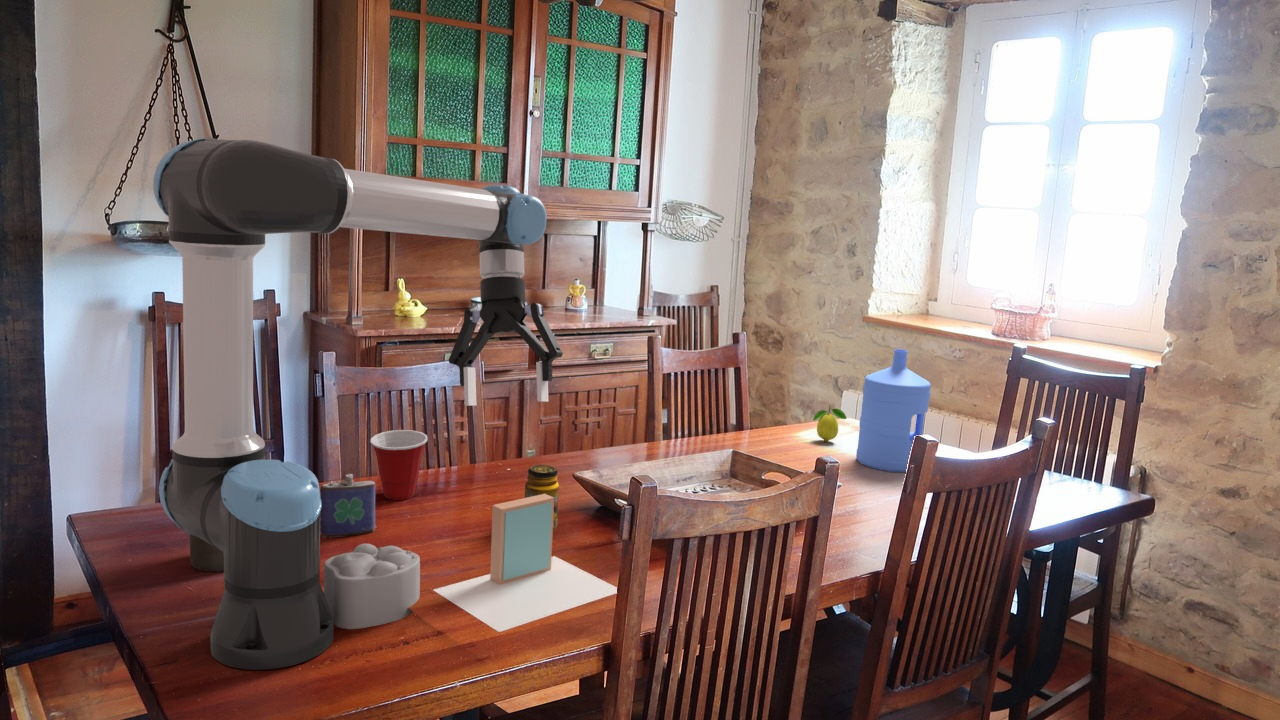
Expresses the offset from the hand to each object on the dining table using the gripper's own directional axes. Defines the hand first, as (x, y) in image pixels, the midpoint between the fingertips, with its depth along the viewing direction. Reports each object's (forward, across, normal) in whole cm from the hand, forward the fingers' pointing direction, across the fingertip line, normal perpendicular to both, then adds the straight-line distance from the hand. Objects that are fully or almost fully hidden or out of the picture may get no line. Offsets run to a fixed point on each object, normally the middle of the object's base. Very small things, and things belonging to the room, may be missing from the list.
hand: (506, 403), depth 159 cm
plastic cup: (+16, +34, -18) cm, 41 cm away
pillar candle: (+23, +40, +22) cm, 51 cm away
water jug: (+16, -53, -96) cm, 111 cm away
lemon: (+10, -37, -108) cm, 115 cm away
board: (+30, -9, +11) cm, 33 cm away
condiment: (+23, +2, -13) cm, 27 cm away
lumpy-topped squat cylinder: (+30, +9, +25) cm, 40 cm away
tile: (+27, -5, +7) cm, 29 cm away
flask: (+21, +30, +3) cm, 37 cm away
